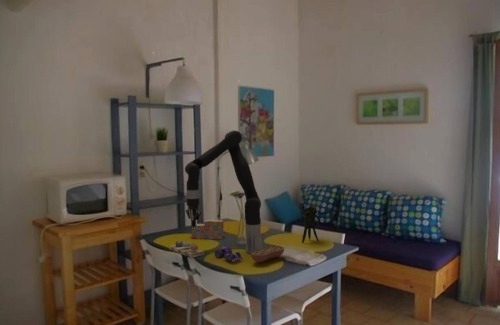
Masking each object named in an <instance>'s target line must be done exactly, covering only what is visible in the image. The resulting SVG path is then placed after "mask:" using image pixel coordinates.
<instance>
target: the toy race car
mask: <svg viewBox="0 0 500 325" xmlns="http://www.w3.org/2000/svg"><path fill="white" fill-rule="evenodd" d="M214 257H215V258H216V259H221V258H223V259H225V260H227V261H228V262H233V263H235V262H237V261H241V260H243V259H244V258H243V257H242V255H241V252H240V251H237V252H233V250H232V248H231V247H230V246H229V245H228V244H223V245H221V246H220V245H217V250H215V251H214Z"/></svg>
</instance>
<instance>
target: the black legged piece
mask: <svg viewBox="0 0 500 325" xmlns="http://www.w3.org/2000/svg"><path fill="white" fill-rule="evenodd" d="M305 207H306V206H305V204H304V203H302V204H301V205H300V208H301V211H302V213H303V214H304V218H303V219H304V220H303V225H304V228H303V234H302V239H301V243H302V244H304V243H305V241H306V240H305V239H306V237H308V240H311V236H312V231H313V234H314V235H313V236H314V237H315V238H316V241H317V242H318V243H320V241H319V237H318V234H317V232H316V228H315V227H316V225H318V224H320V222H321V221H320V220H321V219H320V217H319V216H318V215H317V213H318V210H317V206H316V205H314V204H313V205H311V206H308V207H307V208H305ZM315 218H317V221H316V220H315ZM315 221H316V222H315ZM307 235H308V236H307Z"/></svg>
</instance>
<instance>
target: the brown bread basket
mask: <svg viewBox="0 0 500 325" xmlns="http://www.w3.org/2000/svg"><path fill="white" fill-rule="evenodd" d="M284 251H285V247H284V246H281V245H272V246H267V247H262V249H259V250H256V251H253V252H252V253H250V254H251V258H252V259H253V261H255V262H256V263H262V262H264V261H265V262H266V261H267V260H270V259H274V258H278V257H280V256H282V255H283V254H284Z"/></svg>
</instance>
